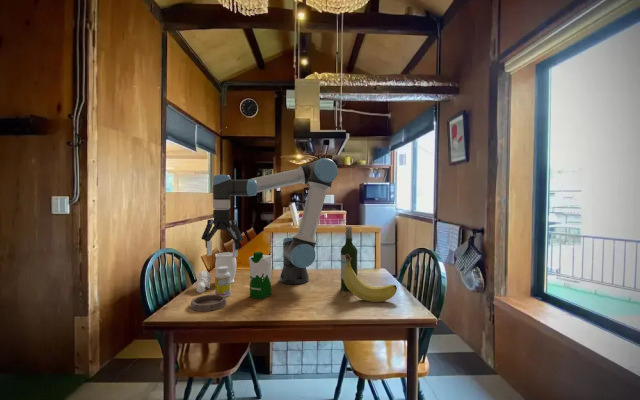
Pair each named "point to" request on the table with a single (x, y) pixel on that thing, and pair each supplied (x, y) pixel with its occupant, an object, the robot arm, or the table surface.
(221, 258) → the jar
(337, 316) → the table surface
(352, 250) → the wine bottle
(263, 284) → the milk carton
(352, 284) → the banana
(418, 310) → the table surface
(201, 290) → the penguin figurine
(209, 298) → the dish
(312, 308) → the table surface
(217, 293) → the supplement bottle
